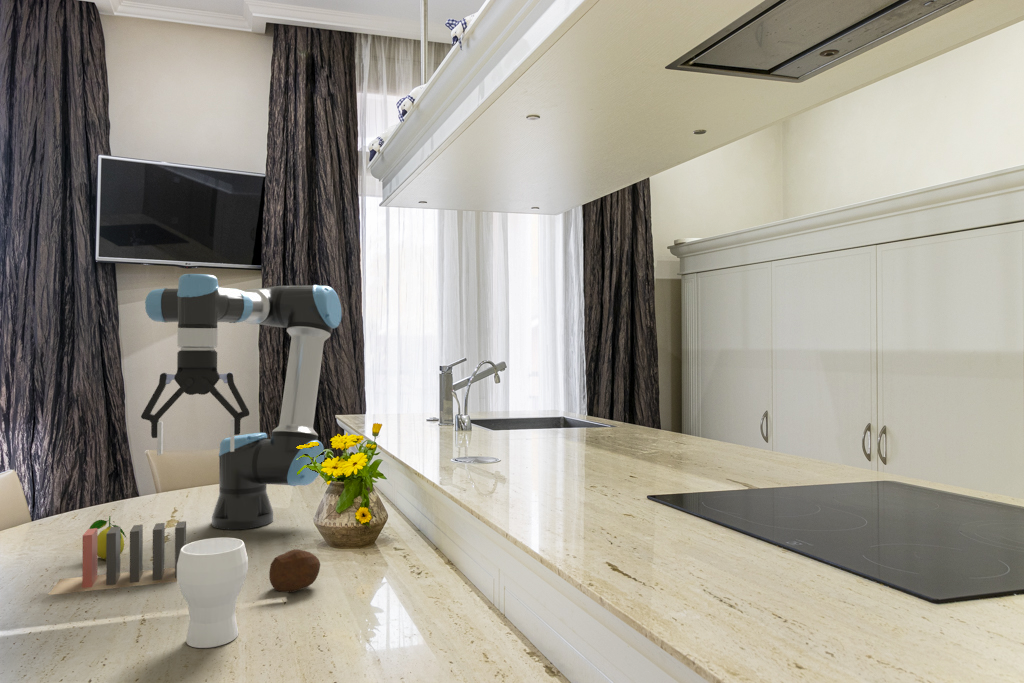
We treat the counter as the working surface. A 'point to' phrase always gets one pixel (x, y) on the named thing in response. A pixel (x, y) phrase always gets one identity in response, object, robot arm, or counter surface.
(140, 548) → the domino
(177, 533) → the domino
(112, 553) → the domino
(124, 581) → the board
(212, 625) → the cup
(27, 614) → the counter surface
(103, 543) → the lemon
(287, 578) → the potato
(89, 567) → the domino
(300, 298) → the robot arm
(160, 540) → the domino
